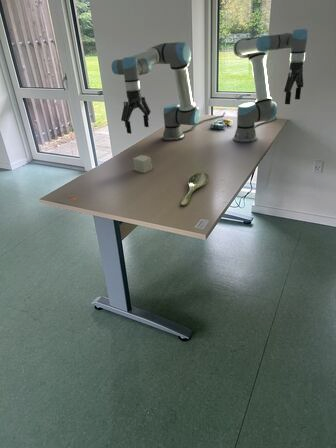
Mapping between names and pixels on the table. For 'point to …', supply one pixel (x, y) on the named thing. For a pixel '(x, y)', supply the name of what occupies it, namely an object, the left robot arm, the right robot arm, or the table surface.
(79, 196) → the table surface
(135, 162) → the block
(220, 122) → the spray gun
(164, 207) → the table surface
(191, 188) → the spoon
